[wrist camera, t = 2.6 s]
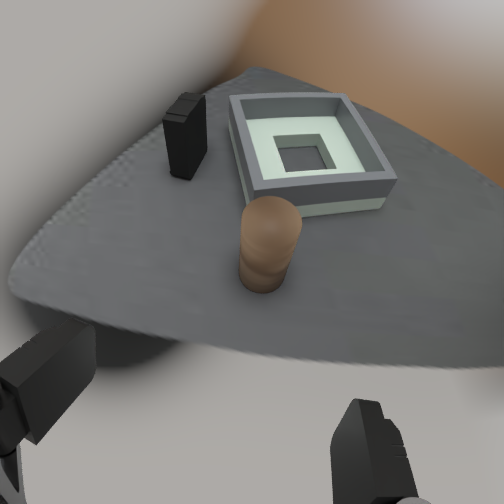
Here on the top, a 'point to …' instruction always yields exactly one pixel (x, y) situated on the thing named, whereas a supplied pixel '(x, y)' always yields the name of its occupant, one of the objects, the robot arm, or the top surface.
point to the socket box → (308, 134)
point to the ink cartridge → (186, 134)
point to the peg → (267, 242)
